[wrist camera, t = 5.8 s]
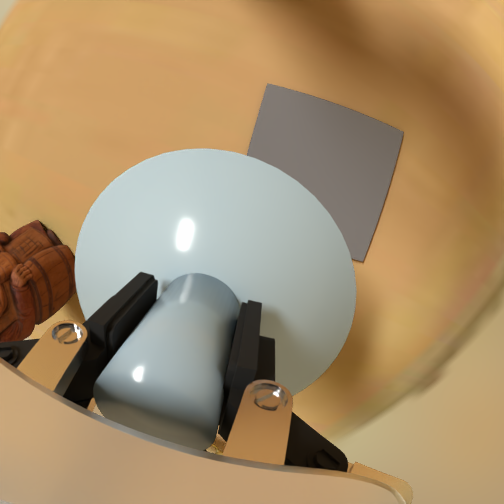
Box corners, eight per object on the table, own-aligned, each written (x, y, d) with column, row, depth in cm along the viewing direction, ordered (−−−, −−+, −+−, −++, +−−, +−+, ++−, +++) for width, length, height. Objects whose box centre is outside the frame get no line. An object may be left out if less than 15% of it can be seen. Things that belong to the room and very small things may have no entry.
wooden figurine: (91, 268, 30) (-13, 349, 13) (74, 300, 32) (-12, 379, 15) (35, 208, 28) (-72, 251, 11) (23, 243, 30) (-69, 293, 13)
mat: (267, 84, 23) (267, 83, 23) (402, 132, 23) (403, 132, 23) (229, 222, 27) (228, 223, 27) (361, 260, 28) (362, 261, 27)
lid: (98, 132, 10) (-27, 128, 4) (388, 195, 11) (506, 240, 4) (92, 359, 14) (34, 435, 8) (298, 415, 15) (303, 516, 8)
